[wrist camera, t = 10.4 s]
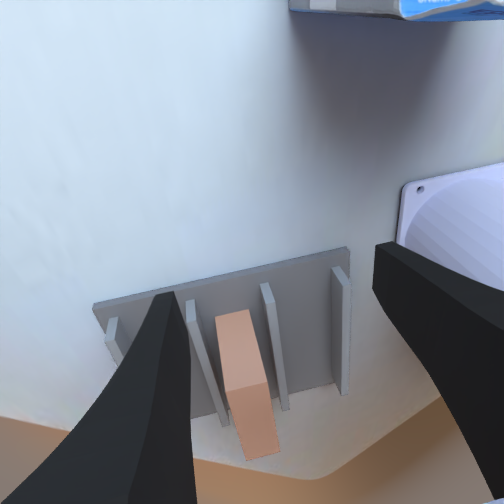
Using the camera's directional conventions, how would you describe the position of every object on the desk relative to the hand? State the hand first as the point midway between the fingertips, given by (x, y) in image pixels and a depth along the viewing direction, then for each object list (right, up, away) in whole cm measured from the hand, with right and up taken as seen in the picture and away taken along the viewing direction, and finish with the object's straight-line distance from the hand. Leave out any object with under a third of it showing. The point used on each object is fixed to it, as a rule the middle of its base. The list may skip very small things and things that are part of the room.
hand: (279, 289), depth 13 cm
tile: (-2, -6, +14) cm, 16 cm away
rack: (-2, -6, +15) cm, 16 cm away
